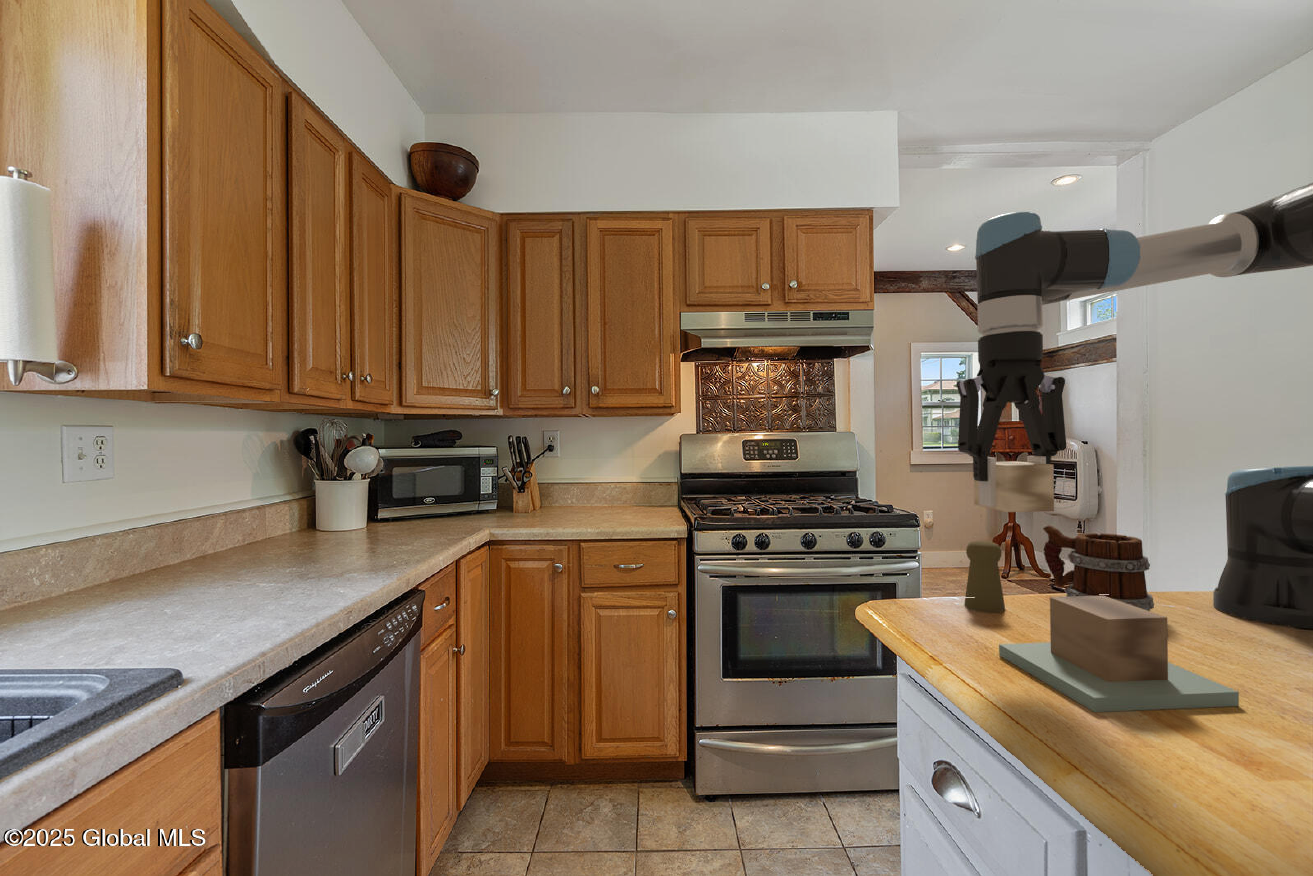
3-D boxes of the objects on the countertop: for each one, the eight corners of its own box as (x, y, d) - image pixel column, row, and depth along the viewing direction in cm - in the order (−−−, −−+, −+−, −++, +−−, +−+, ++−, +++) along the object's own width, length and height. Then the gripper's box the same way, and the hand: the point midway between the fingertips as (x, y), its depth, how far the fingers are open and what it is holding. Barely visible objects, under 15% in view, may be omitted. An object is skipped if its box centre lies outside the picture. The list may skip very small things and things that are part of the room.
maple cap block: (1016, 503, 84) (1016, 461, 84) (1054, 511, 76) (1053, 464, 76) (974, 504, 84) (973, 462, 84) (1007, 512, 76) (1006, 465, 76)
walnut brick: (1104, 650, 76) (1103, 595, 76) (1168, 679, 67) (1167, 617, 67) (1050, 652, 75) (1049, 597, 75) (1107, 681, 66) (1106, 619, 66)
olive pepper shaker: (982, 613, 96) (981, 545, 96) (956, 603, 102) (955, 539, 102) (1014, 610, 98) (1013, 543, 98) (986, 600, 104) (985, 537, 103)
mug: (1156, 624, 89) (1132, 524, 90) (1047, 620, 99) (1028, 530, 101) (1168, 608, 97) (1147, 516, 98) (1066, 606, 107) (1048, 522, 109)
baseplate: (1115, 651, 79) (1115, 640, 79) (1238, 706, 63) (1238, 692, 63) (999, 655, 78) (999, 644, 78) (1094, 712, 62) (1094, 697, 62)
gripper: (1058, 336, 84) (1061, 500, 84) (926, 339, 84) (929, 503, 84) (1100, 327, 77) (1103, 506, 77) (954, 329, 76) (958, 510, 76)
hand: (1012, 504), depth 80 cm, fingers closed on maple cap block, 6 cm apart
